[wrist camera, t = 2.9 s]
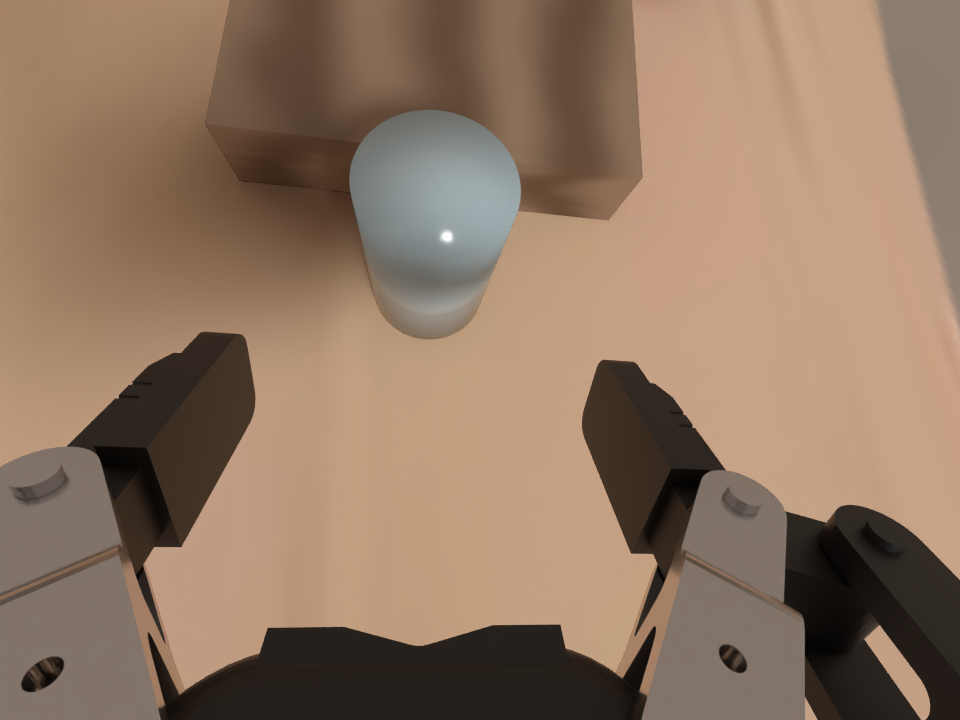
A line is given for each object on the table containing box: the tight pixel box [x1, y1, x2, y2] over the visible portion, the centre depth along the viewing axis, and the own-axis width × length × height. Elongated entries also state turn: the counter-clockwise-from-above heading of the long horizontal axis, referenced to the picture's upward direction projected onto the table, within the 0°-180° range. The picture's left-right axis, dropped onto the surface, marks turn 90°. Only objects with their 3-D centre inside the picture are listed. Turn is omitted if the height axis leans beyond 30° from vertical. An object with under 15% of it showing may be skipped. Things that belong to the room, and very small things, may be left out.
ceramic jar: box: [349, 110, 521, 339], centre depth 19 cm, size 6×6×9 cm
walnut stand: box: [205, 0, 643, 220], centre depth 24 cm, size 20×14×4 cm
